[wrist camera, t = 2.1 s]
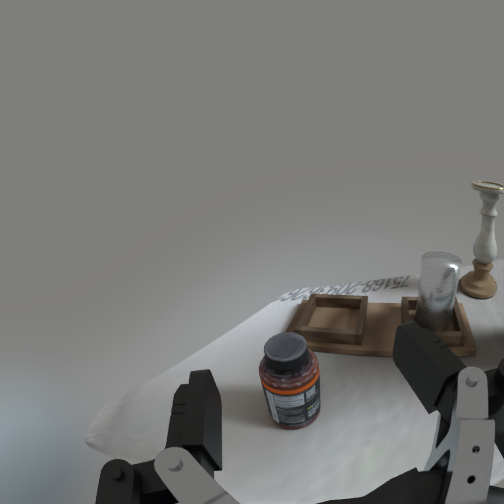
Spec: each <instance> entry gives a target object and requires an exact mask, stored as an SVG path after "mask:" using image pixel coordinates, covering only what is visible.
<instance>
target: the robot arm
mask: <svg viewBox="0 0 504 504" xmlns="http://www.w3.org/2000/svg"><path fill="white" fill-rule="evenodd" d="M393 359H394V362H395V364H396V366H397V367H398V368H399V370H400V371H401V373H402V374H403V376H404V377H405V379H406V380H407V382H408V383H409V385H410V386H411V388H412V389H413V391H414V392H415V394H416V395H417V397H418V398H419V400H420V401H421V403H422V404H423V406H424V407H425V409H426V410H427V412H428V414H430V413H432V412H434V411H436V410H438V411H439V415H438V420H437V426H436V432H435V437H434V442H433V447H432V451H431V454H430V457H429V459H428V461H427V463H426V465H425V468H424V471H421V472H418V470H417V468H416V467H415V468H413V469H411V470H409V471H407V472H405V473H403V474H401V475H399V476H397V477H394V478H392V479H390V480H389V481H387V482H386V483H384V484H383V485H381V486H380V487H378V488H377V489H375V490H374V491H372V492H370V493H369V494H367V495H366V496H363V497H359V498H350V499H340V500H329V501H325V502H321V503H317V504H504V488H500V487H495V486H491V485H489V483H490V477H491V471H492V463H493V453H494V442H495V444H496V445H497V447H498V449H499V451H500V453H501V454H502V456H503V458H504V359H502V360H501V362H500V364H499V366H498V368H496V369H492V370H489V371H485V372H483V371H482V370H481V369H479V368H477V367H466V366H465V365H464V364H463V363H462V362H461V361H460V359H459V358H458V357H457V356H456V355H455V354H454V353H453V352H452V351H451V350H450V349H449V347H446V344H445V343H444V342H443V341H441V339H440V338H439V337H438V336H437V335H436V334H435V333H434V332H432V331H430V330H428V329H426V328H423V329H422V328H421V327H420V326H419V325H418V324H417V323H416V322H415V321H410V322H407V323H404V324H402V325H399V326H398V327H397V329H396V335H395V341H394V346H393ZM172 405H173V407H172V410H171V416H170V423H169V429H168V435H167V442H166V447H165V449H164V450H163V451H161V452H160V453H159V454H158V455H157V457H156V459H154V460H151V461H148V462H143V463H139V464H134V465H130V464H129V463H128V462H126V461H125V460H121V459H114V460H111V461H109V462H107V463H106V464H105V465H104V466H103V468H102V470H101V474H100V479H99V485H98V490H97V496H96V503H95V504H176V503H180V504H240V503H238V502H237V501H236V500H235V499H234V498H233V497H232V496H231V495H230V494H229V493H227V492H226V491H225V490H224V489H223V488H222V487H221V486H220V485H219V484H218V483H217V482H216V481H215V480H214V471H220V470H222V405H221V397H220V393H219V391H218V388H217V386H216V383H215V381H214V378H213V376H212V373H211V371H210V370H209V369H206V370H198V371H191V373H190V378H189V384H181V385H180V386H179V388H178V389H177V391H176V392H175V394H174V399H173V404H172Z"/></svg>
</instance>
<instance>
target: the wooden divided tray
mask: <svg viewBox="0 0 504 504" xmlns="http://www.w3.org/2000/svg"><path fill="white" fill-rule="evenodd" d="M417 299H418V297H402V302H401V303H368V296H353V295H328V294H311V295H310V297H309V299H308V300H302V302H301V304H300V306H299V308H298V310H297V312H296V314H295V316H294V318H293V320H292V321H291V323H290V325H289V327H288V329H287V331H286V333H296V334H299V335H301V336H303V337H304V338H305V340H306V342H307V348H308V349H310V350H311V351H319V352H329V353H339V354H352V355H367V356H388V357H393V346H394V341H395V335H396V329H397V327H398V326H399V325H402V324H404V323H407V322H410V321H414V318H415V312H416V306H417ZM434 333H435V334H436V335H437V336H438V337H439V338H440V339H441V341H443V342H444V343H445V344H446V347H449V349H450V350H451V351H452V352H453V353H454V354H455V355H456V356H474V355H475V353H476V347H475V343H474V339H473V336H472V332H471V329H470V326H469V322H468V319H467V316H466V313H465V310H464V307H463V304H462V303H458V302H457V299H456V297H455V301H454V306H453V310H452V315H451V319H450V323H449V326H448V330H447V332H434Z"/></svg>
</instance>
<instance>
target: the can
mask: <svg viewBox="0 0 504 504" xmlns="http://www.w3.org/2000/svg"><path fill="white" fill-rule="evenodd" d="M460 268H461V260H460V258H459V257H457V256H456V255H454V254H452V253H449V252H444V251H432V252H428V253H426V254H424V255H423V256H422V263H421V274H420V283H419V292H418V299H417V306H416V312H415V318H414V321H415V322H416V323H417V324H418V325H419V326H420V327H421V328H422V329H423V328H426V329H428V330H430V331H432V332H447V330H448V326H449V323H450V319H451V315H452V310H453V306H454V301H455V297H456V292H457V286H458V281H459V275H460Z"/></svg>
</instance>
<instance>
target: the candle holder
mask: <svg viewBox="0 0 504 504" xmlns="http://www.w3.org/2000/svg"><path fill="white" fill-rule="evenodd" d="M471 186H472V188H473V189H475V190H478V191H480V197H481V199H482V201H483V207H482V208H481V210H480V213H481V214H482V225H481V230H480V233H479V235H478V237H477V239H476V241H475V243H474V246H473V253H474V256H475V258H476V259H474V260H473V266H474V271H470V272H468V273H467V274H466V275H464V276H463V277H462V279H461V288H462V289H463V291H464V292H466V293H467V294H468V295H470V296H473V297H476V298H482V299H485V298H490V297H492V296H494V295H495V293H496V291H497V284H496V282H495V281H494V279H493V277H492V276H491V275H490V274H489V272H490V270H491V269H492V268H493V263H492V261H493V260H494V258H495V257H496V254H497V245H496V241H495V237H494V220H495V216H497V215H498V214H497V212H496V209H495V205H496V202H497V201H498V200H499V194H504V185H503V184H500V183H496V182H491V181H473V182H472V184H471Z"/></svg>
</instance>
